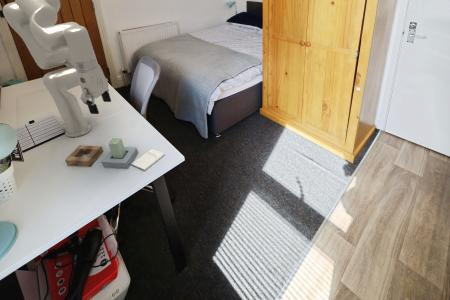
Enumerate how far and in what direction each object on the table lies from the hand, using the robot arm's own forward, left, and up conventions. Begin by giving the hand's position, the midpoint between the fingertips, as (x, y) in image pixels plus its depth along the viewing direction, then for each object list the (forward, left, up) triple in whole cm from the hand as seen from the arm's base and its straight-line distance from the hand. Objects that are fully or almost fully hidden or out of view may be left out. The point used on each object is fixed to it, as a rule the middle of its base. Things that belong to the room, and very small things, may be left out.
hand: (101, 107), depth 109 cm
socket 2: (+2, -2, -25) cm, 25 cm away
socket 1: (-15, -1, -25) cm, 29 cm away
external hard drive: (+14, -1, -26) cm, 29 cm away
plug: (+2, -1, -25) cm, 25 cm away
